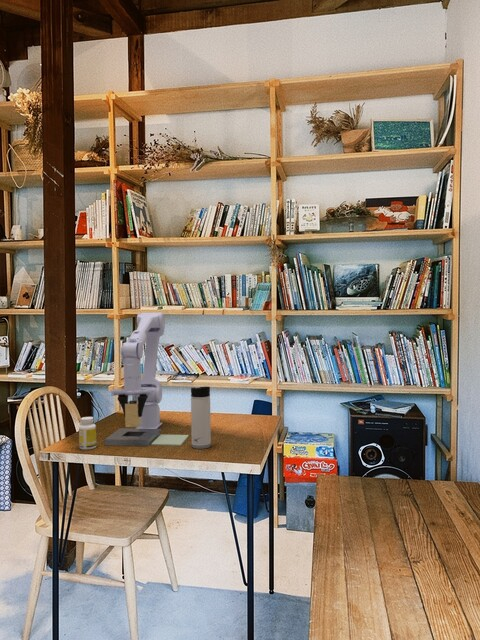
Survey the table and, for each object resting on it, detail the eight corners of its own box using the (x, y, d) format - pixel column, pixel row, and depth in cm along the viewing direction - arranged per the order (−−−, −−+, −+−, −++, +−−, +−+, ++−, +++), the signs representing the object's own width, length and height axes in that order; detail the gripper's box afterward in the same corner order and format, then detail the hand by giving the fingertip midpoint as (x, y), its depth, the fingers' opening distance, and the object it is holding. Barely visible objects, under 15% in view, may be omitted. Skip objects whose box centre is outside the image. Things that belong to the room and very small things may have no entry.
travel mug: (196, 450, 163) (195, 387, 162) (188, 445, 169) (187, 385, 168) (214, 447, 166) (213, 386, 165) (206, 442, 172) (205, 383, 171)
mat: (160, 435, 182) (160, 434, 182) (188, 436, 181) (188, 435, 181) (151, 445, 170) (151, 443, 170) (180, 445, 169) (180, 444, 169)
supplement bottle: (99, 445, 170) (98, 416, 170) (92, 450, 165) (92, 419, 164) (83, 445, 171) (82, 416, 170) (76, 449, 165) (75, 419, 165)
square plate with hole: (120, 433, 185) (120, 428, 185) (160, 434, 183) (160, 429, 183) (104, 445, 170) (104, 439, 170) (148, 446, 168) (148, 440, 168)
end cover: (128, 424, 179) (128, 399, 179) (141, 424, 179) (140, 399, 178) (125, 427, 175) (124, 402, 174) (138, 427, 174) (137, 402, 174)
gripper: (108, 378, 172) (109, 418, 173) (150, 378, 172) (151, 418, 172) (114, 375, 180) (115, 414, 180) (155, 375, 179) (156, 414, 179)
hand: (133, 416), depth 177 cm, fingers closed on end cover, 4 cm apart
